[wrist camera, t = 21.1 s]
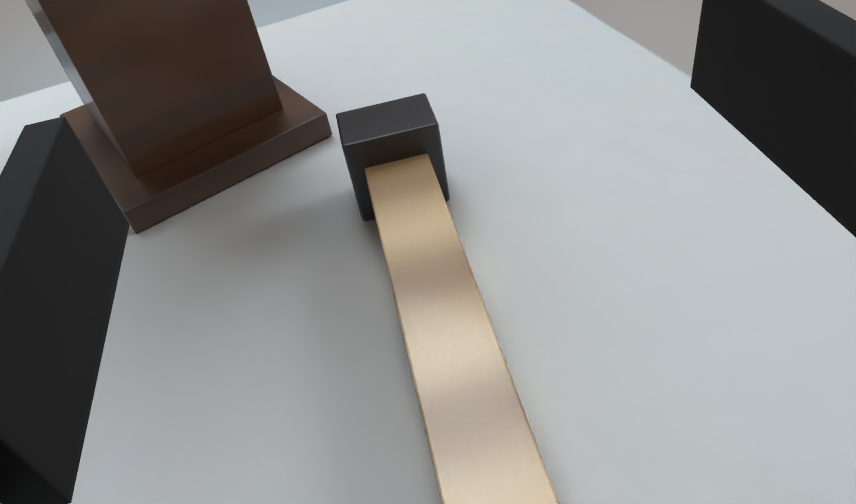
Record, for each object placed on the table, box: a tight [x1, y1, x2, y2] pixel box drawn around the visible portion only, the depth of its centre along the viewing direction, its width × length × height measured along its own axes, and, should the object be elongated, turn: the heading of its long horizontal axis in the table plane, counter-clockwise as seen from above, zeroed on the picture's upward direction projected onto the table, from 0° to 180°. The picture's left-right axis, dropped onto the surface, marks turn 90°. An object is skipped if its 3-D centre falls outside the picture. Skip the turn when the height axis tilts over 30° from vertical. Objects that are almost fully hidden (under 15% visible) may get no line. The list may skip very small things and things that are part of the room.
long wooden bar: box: [336, 93, 559, 504], centre depth 24 cm, size 22×4×4 cm, turn 11°
